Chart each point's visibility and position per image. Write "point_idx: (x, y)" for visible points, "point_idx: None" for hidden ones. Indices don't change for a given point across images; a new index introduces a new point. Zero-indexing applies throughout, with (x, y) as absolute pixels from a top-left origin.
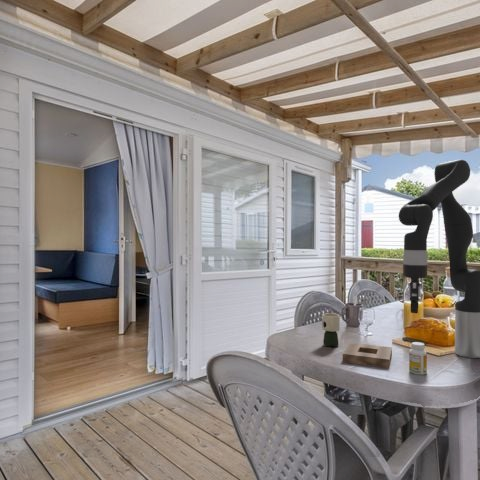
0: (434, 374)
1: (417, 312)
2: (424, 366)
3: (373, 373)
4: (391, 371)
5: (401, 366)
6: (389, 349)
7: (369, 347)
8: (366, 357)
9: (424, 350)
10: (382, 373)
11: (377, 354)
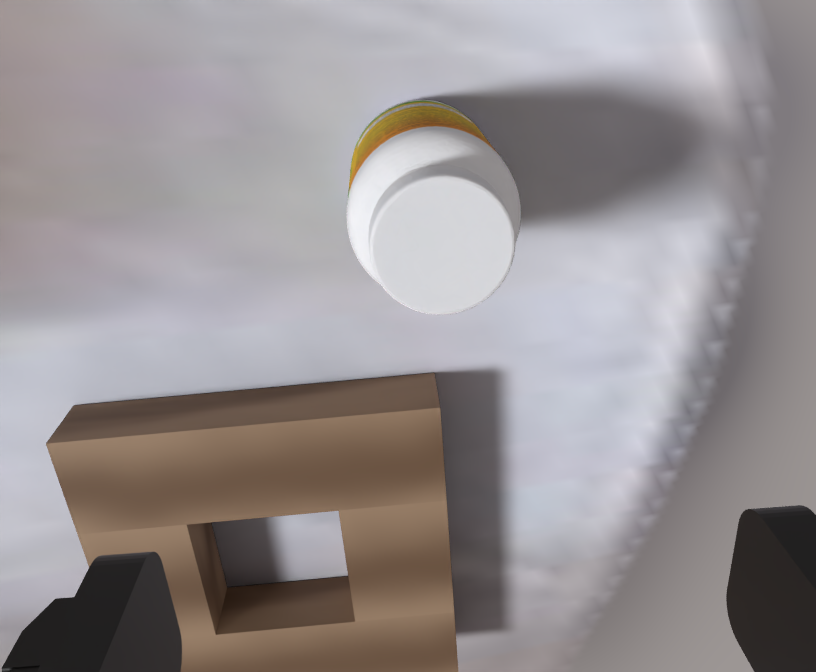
0: (411, 30)
1: (803, 513)
2: (473, 125)
3: (600, 442)
4: (501, 349)
5: (338, 301)
6: (130, 450)
7: (178, 581)
8: (449, 548)
9: (431, 158)
10: (574, 394)
11: (344, 502)
